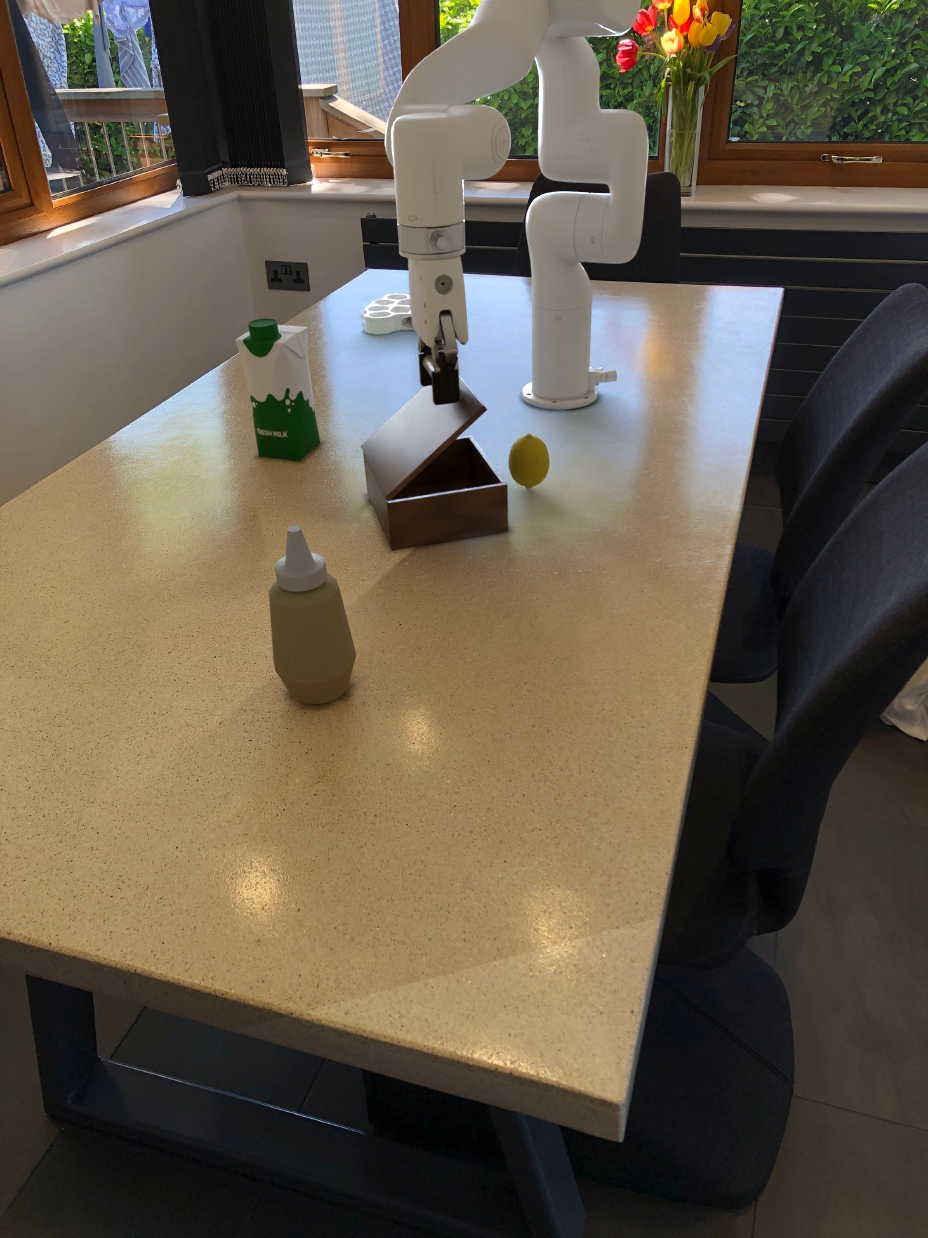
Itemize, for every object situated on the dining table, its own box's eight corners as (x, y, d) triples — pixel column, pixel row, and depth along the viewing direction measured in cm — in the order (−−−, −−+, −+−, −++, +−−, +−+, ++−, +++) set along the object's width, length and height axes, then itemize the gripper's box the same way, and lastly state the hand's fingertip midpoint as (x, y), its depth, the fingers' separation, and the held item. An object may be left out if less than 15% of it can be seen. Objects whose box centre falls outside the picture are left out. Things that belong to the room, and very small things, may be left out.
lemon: (546, 498, 124) (547, 443, 120) (505, 496, 125) (505, 441, 121) (551, 481, 129) (552, 426, 124) (512, 478, 130) (511, 425, 125)
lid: (452, 366, 121) (424, 335, 117) (487, 409, 108) (457, 376, 104) (364, 449, 124) (335, 422, 120) (388, 502, 111) (356, 472, 107)
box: (473, 478, 130) (471, 435, 127) (508, 531, 117) (507, 484, 114) (367, 495, 127) (362, 450, 124) (391, 551, 114) (386, 503, 111)
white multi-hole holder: (418, 335, 186) (349, 333, 189) (439, 310, 200) (375, 308, 203) (417, 319, 184) (347, 317, 187) (438, 294, 198) (373, 292, 201)
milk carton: (250, 458, 139) (226, 325, 128) (279, 435, 146) (258, 306, 135) (302, 464, 136) (282, 329, 125) (329, 440, 143) (312, 310, 132)
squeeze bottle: (282, 666, 95) (253, 511, 85) (360, 660, 96) (340, 504, 86) (275, 716, 89) (243, 554, 79) (359, 709, 89) (338, 547, 79)
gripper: (485, 251, 97) (488, 414, 107) (445, 221, 111) (451, 368, 121) (416, 258, 96) (426, 422, 106) (384, 227, 110) (395, 375, 120)
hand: (439, 392), depth 113 cm, fingers closed on lid, 6 cm apart
